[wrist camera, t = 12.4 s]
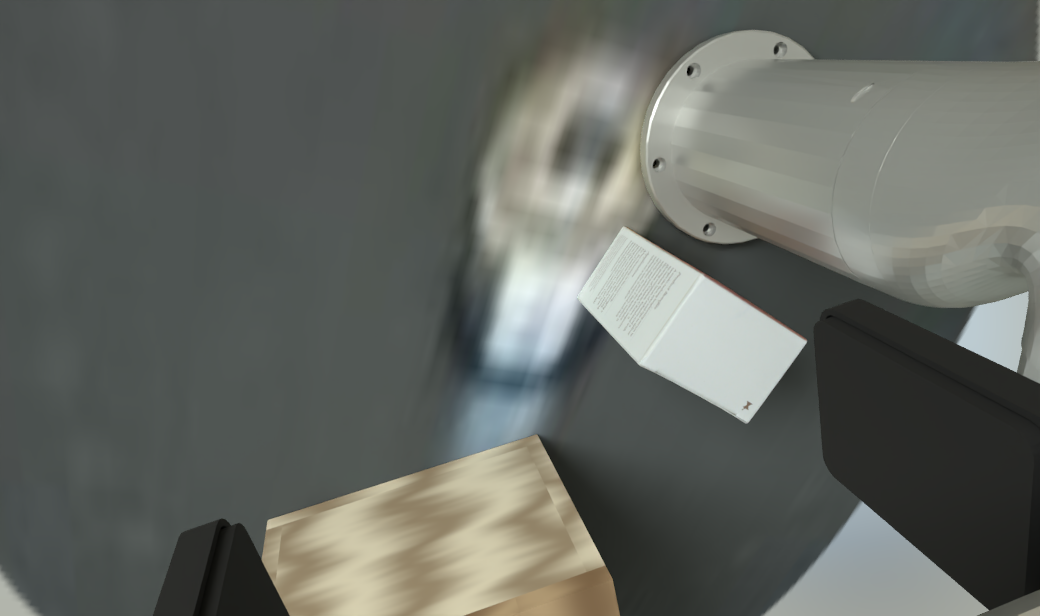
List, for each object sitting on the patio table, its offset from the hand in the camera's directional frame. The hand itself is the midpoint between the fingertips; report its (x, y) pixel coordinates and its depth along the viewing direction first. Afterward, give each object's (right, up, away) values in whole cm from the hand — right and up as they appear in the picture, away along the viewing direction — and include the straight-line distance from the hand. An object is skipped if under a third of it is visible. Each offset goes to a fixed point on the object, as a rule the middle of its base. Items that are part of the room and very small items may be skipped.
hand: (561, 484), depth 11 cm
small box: (+7, +4, +34) cm, 35 cm away
